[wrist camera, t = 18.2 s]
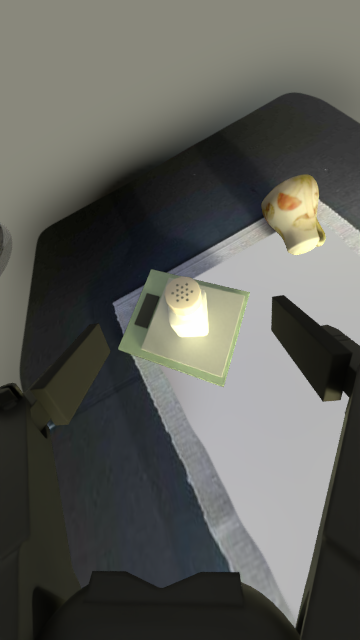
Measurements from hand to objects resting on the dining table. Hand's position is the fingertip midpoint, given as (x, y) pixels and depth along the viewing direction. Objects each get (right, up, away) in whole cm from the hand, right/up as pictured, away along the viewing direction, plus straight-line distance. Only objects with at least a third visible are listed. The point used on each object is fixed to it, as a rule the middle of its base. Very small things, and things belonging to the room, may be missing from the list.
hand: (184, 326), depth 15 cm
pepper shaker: (+1, 0, +11) cm, 11 cm away
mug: (+17, +14, +16) cm, 27 cm away
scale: (0, 0, +14) cm, 14 cm away
